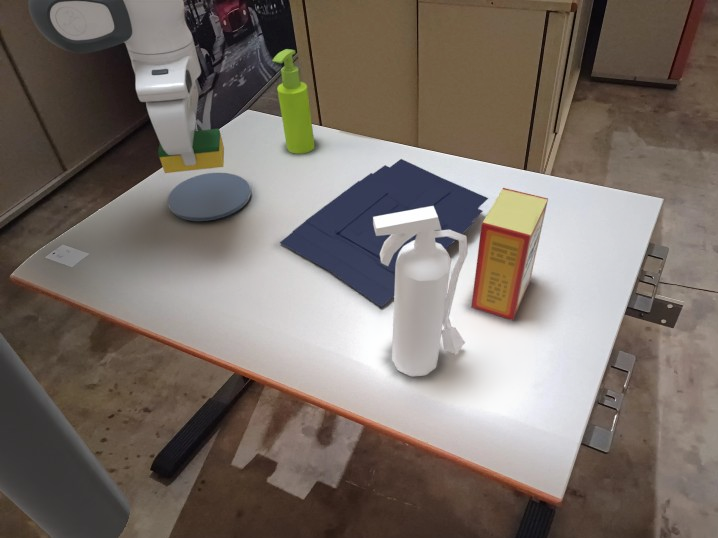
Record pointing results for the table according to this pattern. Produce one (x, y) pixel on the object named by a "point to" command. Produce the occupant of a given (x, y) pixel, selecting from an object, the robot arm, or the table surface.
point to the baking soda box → (507, 252)
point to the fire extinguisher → (420, 288)
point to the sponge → (197, 153)
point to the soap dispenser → (294, 106)
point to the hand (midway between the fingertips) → (192, 151)
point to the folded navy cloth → (356, 231)
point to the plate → (209, 196)
